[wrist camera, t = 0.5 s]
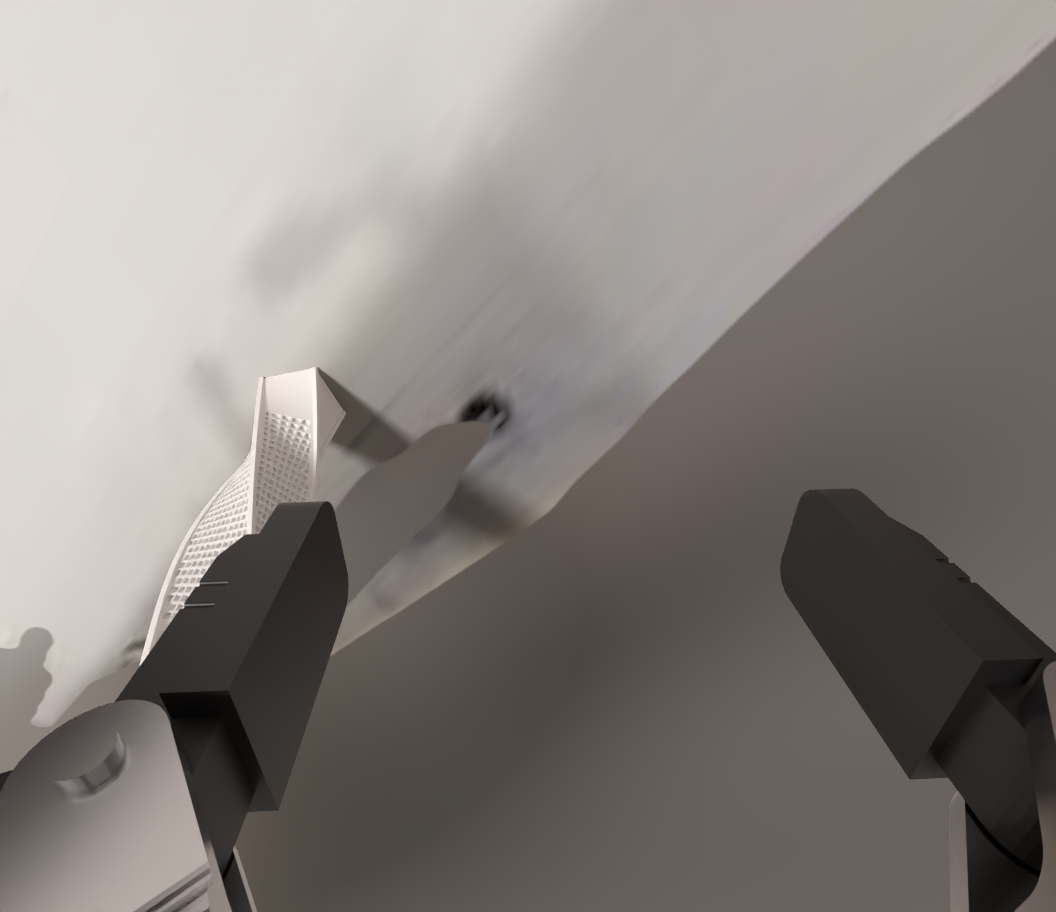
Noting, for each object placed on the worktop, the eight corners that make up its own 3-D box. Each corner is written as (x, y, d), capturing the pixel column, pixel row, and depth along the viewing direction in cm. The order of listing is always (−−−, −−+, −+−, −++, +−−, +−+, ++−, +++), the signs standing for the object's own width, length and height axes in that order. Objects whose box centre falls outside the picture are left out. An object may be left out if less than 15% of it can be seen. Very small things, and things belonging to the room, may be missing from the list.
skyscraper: (236, 366, 44) (40, 740, 25) (319, 349, 43) (178, 725, 24) (289, 431, 50) (160, 773, 31) (363, 417, 49) (276, 762, 30)
